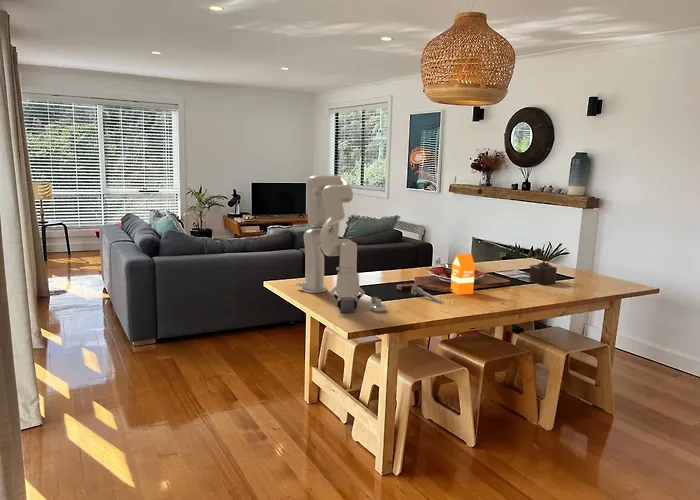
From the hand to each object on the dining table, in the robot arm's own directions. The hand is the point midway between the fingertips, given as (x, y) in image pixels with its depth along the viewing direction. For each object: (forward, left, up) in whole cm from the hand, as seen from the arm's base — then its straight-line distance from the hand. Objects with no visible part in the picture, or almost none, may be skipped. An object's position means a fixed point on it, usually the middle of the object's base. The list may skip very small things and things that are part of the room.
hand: (347, 308), depth 242 cm
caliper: (+40, +21, -2) cm, 45 cm away
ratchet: (+14, +8, -1) cm, 16 cm away
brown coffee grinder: (+112, +59, -1) cm, 127 cm away
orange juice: (+61, +34, -1) cm, 70 cm away
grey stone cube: (0, 0, -1) cm, 1 cm away
